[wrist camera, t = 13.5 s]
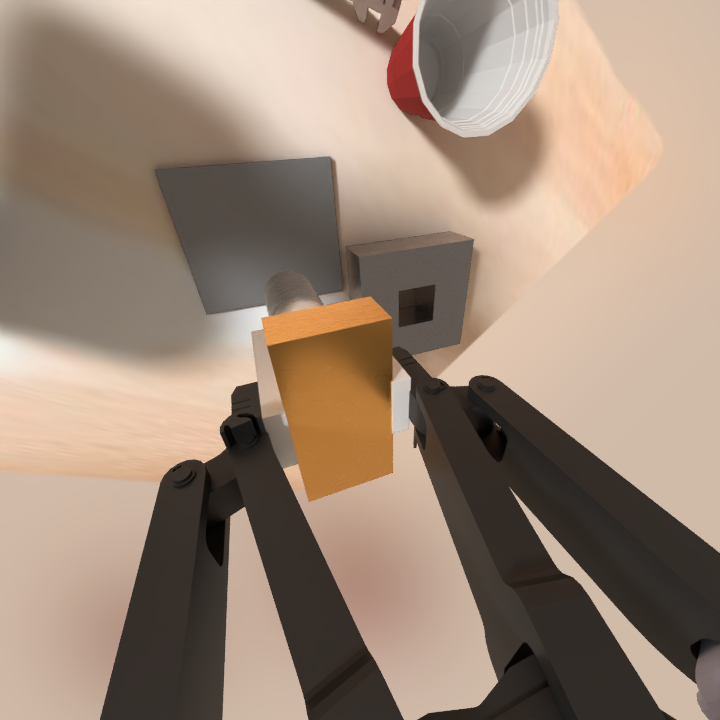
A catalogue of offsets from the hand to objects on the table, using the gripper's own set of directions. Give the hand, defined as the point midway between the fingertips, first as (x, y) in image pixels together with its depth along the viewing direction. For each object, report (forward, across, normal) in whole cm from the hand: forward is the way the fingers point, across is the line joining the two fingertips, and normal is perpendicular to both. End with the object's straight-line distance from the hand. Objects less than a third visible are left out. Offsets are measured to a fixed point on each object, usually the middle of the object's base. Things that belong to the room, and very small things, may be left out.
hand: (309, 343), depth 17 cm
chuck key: (+8, 0, 0) cm, 8 cm away
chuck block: (+22, +16, -8) cm, 28 cm away
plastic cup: (+22, +17, +14) cm, 31 cm away
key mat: (+22, 0, +1) cm, 22 cm away
